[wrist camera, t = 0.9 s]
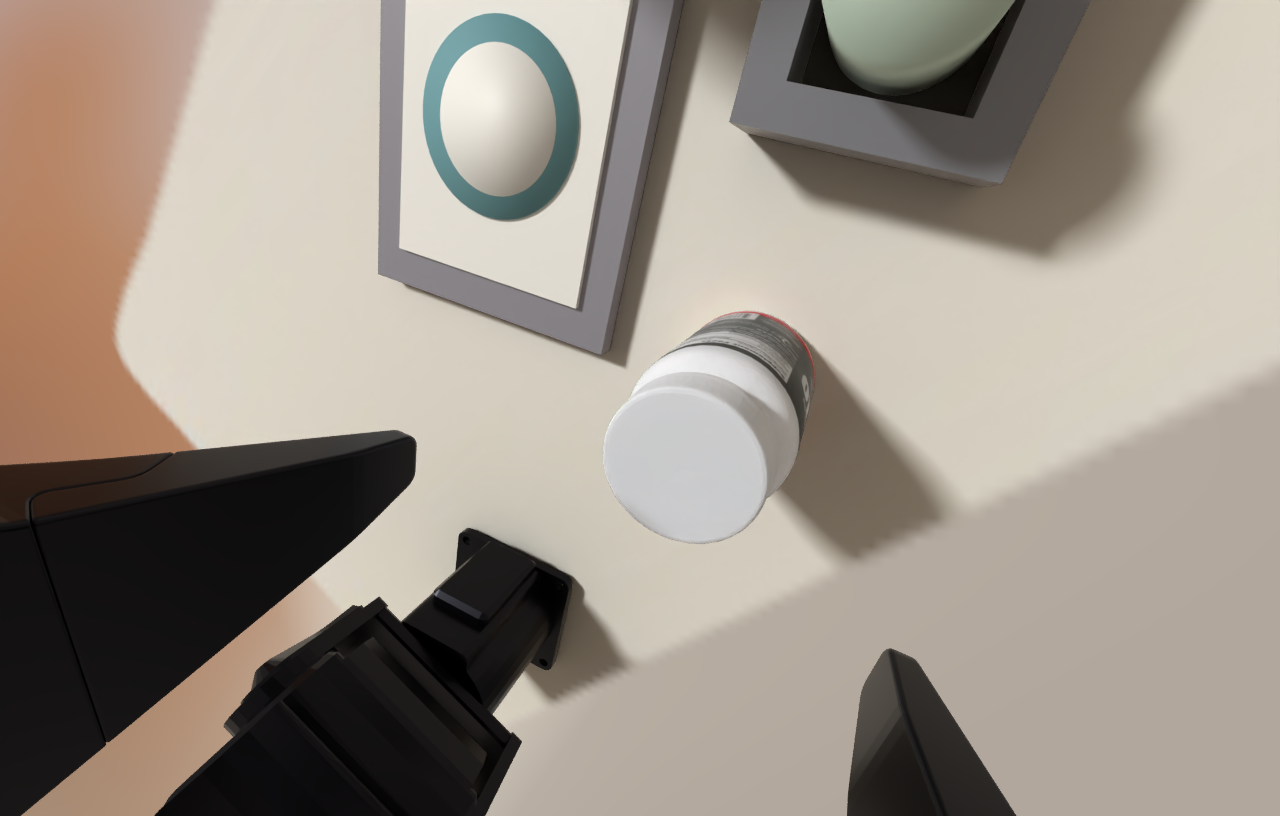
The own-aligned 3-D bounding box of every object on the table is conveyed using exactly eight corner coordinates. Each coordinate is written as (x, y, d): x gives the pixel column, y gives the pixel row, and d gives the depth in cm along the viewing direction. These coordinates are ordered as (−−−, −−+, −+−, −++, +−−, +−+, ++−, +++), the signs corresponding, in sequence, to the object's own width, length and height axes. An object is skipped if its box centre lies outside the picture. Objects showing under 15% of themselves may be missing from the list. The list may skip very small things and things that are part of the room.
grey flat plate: (609, 350, 21) (597, 357, 20) (392, 272, 24) (372, 274, 23) (705, -101, 15) (694, -122, 14) (400, -137, 18) (374, -157, 17)
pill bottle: (778, 454, 20) (731, 596, 13) (668, 397, 21) (565, 499, 14) (842, 344, 18) (830, 440, 11) (717, 285, 19) (626, 337, 11)
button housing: (981, 186, 15) (1001, 183, 13) (746, 133, 17) (729, 121, 15) (1133, -138, 12) (1194, -214, 10) (828, -163, 14) (822, -232, 12)
